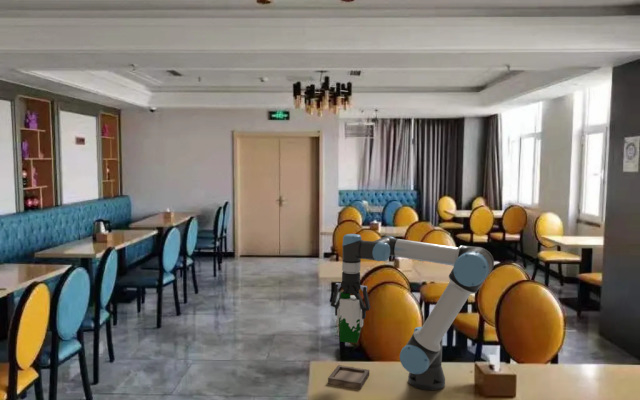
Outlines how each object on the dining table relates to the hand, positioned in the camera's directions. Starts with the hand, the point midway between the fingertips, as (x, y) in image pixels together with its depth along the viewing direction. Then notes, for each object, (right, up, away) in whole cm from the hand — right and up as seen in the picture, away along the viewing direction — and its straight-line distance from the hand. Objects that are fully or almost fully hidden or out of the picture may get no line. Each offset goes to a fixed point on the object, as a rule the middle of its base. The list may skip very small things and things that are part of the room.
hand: (350, 324), depth 220 cm
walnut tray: (0, -24, +2) cm, 24 cm away
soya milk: (0, -7, +1) cm, 7 cm away
